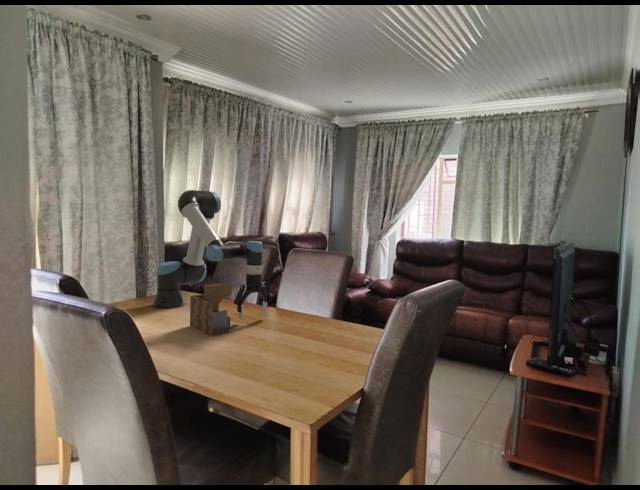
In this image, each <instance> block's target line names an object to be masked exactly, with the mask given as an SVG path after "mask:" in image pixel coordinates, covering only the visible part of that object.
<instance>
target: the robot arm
mask: <svg viewBox="0 0 640 490" xmlns="http://www.w3.org/2000/svg"><path fill="white" fill-rule="evenodd" d="M221 201H222V200H221V198H220V196H219V194H218V193H216V192H215V191H210V190H196V189H195V190H194V189H190V190H186V191H183V193H181V194H180V196H179V197H178V200H177V207H178V211H179V213H180V215H181V216H182V217H184V218H185V219H187V221H188V223H189V224H190V226H191V232H190V238H189V243H188V247H187V251H186V252H187V253H186V256H184V257H183V258H182V263H181V262H180V261H176V260H175V261H165V262H161V263H159V265H157V270H156V274H157V277H156V290H157V291H156V293H155V297H154V299H153V307H155V308H158V309H173V308H179V307H181V306H184V298H183V296H182V294H181V285H189V284H198V283H201V282H203V281H204V279H206V276H207V272H208V270H207V264H206V263H205V261H204V259H203V257H204V252H205V254H206V258H207V260H208V261H210V262H221V261H232V260H234V261H235V260H245V261H246V266H245V268H246V269H245V273H246V274H245V281H246V283H245V284H243V283H240V284H239V290H238V292H237V294H236V297H235V299H234V301H233V304H234V305H236V306H237V308H236V309H237V311H236V312H237V313H238V319H240V320H244V305H243V304H244V302H245V301H246V299H247V298H248V297H249V296H250V295H251V294H254V293H258V294H259V296H260V297H261V299H263V300H262V315H264V316H267V315H268V308H269V303H270V301H272V300H273V297H272V295H271V293H270V290H269V288H268V283H267V282H266V281H262V280H263V279H262V278H263V274H262V273H263V251H264V249H263V242H262V241H258V240H257V241H256V240H249V241H247V242H246V244H245V243H241V242H237V243H236V242H234V243H231V244H229V243H228V244H227V243H226V244H224V242H223V241H222V239H221V238H220V237H219V235H218V234H217V233H216V231H215V230H214V229H213V227H212V226H211V221H212V220H213V219H214V218H215V214H217V213H219V212H221V207H222V202H221ZM205 248H206V250H205ZM262 289H263V290H262Z"/></svg>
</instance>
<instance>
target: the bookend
mask: <svg viewBox="0 0 640 490" xmlns="http://www.w3.org/2000/svg"><path fill="white" fill-rule="evenodd" d="M227 316H228V309H224V310H219V311H216V312H213V336H212V337H214V336H218V335H223V334H228V333H232V330H230V329H229V328H227Z"/></svg>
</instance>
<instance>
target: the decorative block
mask: <svg viewBox="0 0 640 490" xmlns="http://www.w3.org/2000/svg"><path fill="white" fill-rule="evenodd" d="M203 294H204V300H206V301H208V302H211V303H213V312H216V311H220V307H219V306H220V303H221V302H222V300H223V299H225V298H226V297H229V296H231V295H232V285H231V284H230V283H228V282H221V283H220V282H218V283H205V284H204V285H203ZM230 328H231V317H230V316H229V315H227V329H230Z"/></svg>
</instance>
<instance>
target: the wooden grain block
mask: <svg viewBox="0 0 640 490" xmlns="http://www.w3.org/2000/svg"><path fill="white" fill-rule="evenodd" d="M189 298H190V299H189V300H190V302H189V303H190V306H189V308H190V312H189V327H191V328H193V329H195V330H197V331H199V332H201V333H203V334H205V335H207V336H208V337H214V336H213V303H211V302H208V301H206V300H203V299H204V293H203V294H194V295H190V297H189Z"/></svg>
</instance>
